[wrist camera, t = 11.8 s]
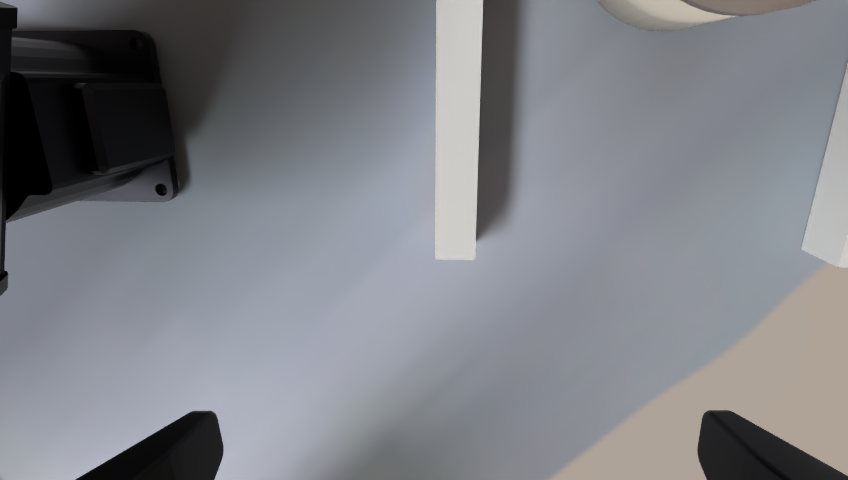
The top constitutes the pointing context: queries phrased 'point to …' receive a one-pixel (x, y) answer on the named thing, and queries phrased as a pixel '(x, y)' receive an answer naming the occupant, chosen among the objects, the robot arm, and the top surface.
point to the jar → (688, 11)
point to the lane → (459, 142)
